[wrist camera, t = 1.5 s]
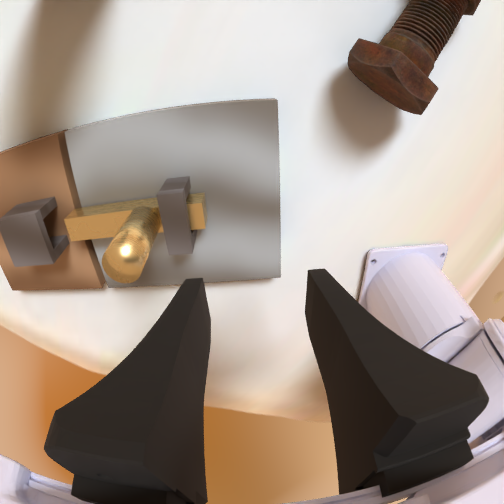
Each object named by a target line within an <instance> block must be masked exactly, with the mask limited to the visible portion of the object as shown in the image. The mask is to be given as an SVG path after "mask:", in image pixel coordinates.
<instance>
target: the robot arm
mask: <svg viewBox="0 0 504 504" xmlns="http://www.w3.org/2000/svg"><path fill="white" fill-rule="evenodd" d="M447 251H448V246H447V245H446V244H445V243H440V244H428V245H416V246H403V247H390V248H378V249H372V250H370V251H369V252H368V254H367V260H366V266H365V271H364V276H363V282H362V287H361V292H360V296H359V301H358V302H357V301H356V300H355V299H354V298H353V297H352V296H351V295H350V294H349V293H348V292H347V291H346V290H345V289H344V288H343V287H342V286H341V285H340V284H339V283H338V282H337V281H336V280H335V279H334V278H333V277H332V276H331V275H330V274H329V273H328V272H327V271H326V270H325V269H314V270H308V277H307V292H306V305H305V315H306V321H307V327H308V332H309V337H310V340H311V343H312V347H313V350H314V353H315V356H316V359H317V363H318V366H319V369H320V372H321V376H322V379H323V382H324V386H325V389H326V393H327V398H328V404H329V410H330V415H331V422H332V428H333V435H334V442H335V451H336V459H337V470H338V481H339V495H336V496H331V497H326V498H321V499H314V500H307V501H300V502H294V503H284V504H388V503H392V502H394V501H398V500H401V499H403V498H406V497H408V498H407V499H406V501H403V502H401V503H398V504H504V323H503V322H502V321H501V320H500V319H491V318H489V319H488V320H487V321H486V322H485V323H484V324H483V323H481V321H480V320H479V319H478V317H477V316H476V314H475V313H474V312H473V311H472V309H471V308H470V306H469V305H468V304H467V302H466V301H465V300H464V298H463V297H462V296H461V294H460V293H459V292H458V290H457V289H456V288H455V287H454V285H453V284H452V283H451V282H450V280H449V279H448V278H447V277H446V275H445V274H444V273H443V272H442V268H443V264H444V261H445V258H446V255H447ZM373 259H375V260H374V261H373V262H371V261H372V260H373ZM210 343H211V319H210V313H209V308H208V303H207V298H206V292H205V287H204V282H203V278H191V279H185V281H184V282H183V283H182V285H181V286H180V288H179V290H178V291H177V293H176V294H175V296H174V297H173V299H172V300H171V302H170V304H169V305H168V306H167V308H166V309H165V311H164V312H163V314H162V315H161V316H160V318H159V319H158V321H157V322H156V323H155V324H154V326H153V327H152V328H151V330H150V331H149V332H148V333H147V335H146V336H145V337H144V338H143V340H142V341H141V342H140V343H139V344H138V345H137V347H136V348H135V349H134V350H133V351H132V352H131V353H130V354H129V355H128V356H127V357H126V358H125V359H124V360H123V361H122V362H121V363H120V364H119V365H118V366H117V367H116V368H114V369H113V370H112V371H111V372H110V373H109V374H108V375H107V376H106V377H104V378H103V379H102V380H101V381H99V382H98V383H97V384H96V385H94V386H93V387H92V388H90V389H89V390H88V391H86V392H85V393H83V394H82V395H80V396H79V397H77V398H76V399H74V400H73V401H71V402H69V403H68V404H66V405H65V406H63V407H62V408H60V409H58V410H56V411H55V413H54V416H53V419H52V422H51V425H50V428H49V432H48V435H47V439H46V442H45V446H44V450H45V452H46V453H47V455H48V456H49V457H50V458H51V459H53V460H54V461H55V462H57V463H58V464H60V465H61V466H62V467H64V468H66V469H67V470H68V471H70V472H71V473H73V474H74V479H73V484H72V485H69V484H66V483H63V482H59V481H56V480H53V479H50V478H47V477H45V476H42V475H39V474H36V473H34V472H31V471H30V470H29V469H28V468H26V467H25V466H23V465H21V464H20V463H18V462H16V461H14V460H12V459H10V458H8V457H5V456H3V455H1V454H0V504H206V503H207V502H208V500H207V489H206V477H205V459H204V426H203V424H204V422H203V421H204V420H203V407H204V393H205V384H206V376H207V368H208V360H209V352H210Z"/></svg>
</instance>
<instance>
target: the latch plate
mask: <svg viewBox="0 0 504 504" xmlns="http://www.w3.org/2000/svg"><path fill="white" fill-rule="evenodd" d="M204 192H205V200H206V208H207V216H208V217H207V223H206V229H196V230H191V229H190V223H189V216H188V210H187V204H186V199H187V196H188V194H194V193H204ZM156 197H157V201H158V206H159V211H160V216H161V221H162V226H163V231H164V232H161V233H158V234H157V237H156V239H155V241H154V244H153V246H152V248H151V251H150V253H149V256H148V258H147V260H146V263H145V265H144V268H143V270H142V273H141V275H140V277H139V278H138V279H137V280H136V281H134V282H132V283H120V282H117V281H115V280H113V279H112V278H110V277H109V276H108V275H107V274H106V272H105V271H104V269H103V266H102V257H103V254H104V253H105V251H106V249H107V248H108V246H109V245H110V243H111V241H112V240H113V238H114V237H109V238H99V239H89V240H80V241H71V239H70V236H69V233H68V230H67V227H66V224H65V221H64V219H65V218H66V217H67V216H68V215H69V214H70V213H71V212H72V211H73V210H74V209H75V208H82V207H88V206H95V205H102V204H109V203H116V202H123V201H131V200H139V199H147V198H156ZM0 265H1V267H2V270H3V272H4V274H5V276H6V278H7V280H8V282H9V284H10V286H11V288H12V290H56V289H89V288H102V287H103V285H104V283H105V281H106V282H107V285H108V287H109V288H115V287H137V286H157V285H176V284H182V283H183V282H184V281H185V279H191V278H203V282H204V283H209V282H225V281H239V280H253V279H267V278H280V277H281V231H280V167H279V130H278V102H277V100H276V99H274V98H273V99H249V100H233V101H221V102H210V103H201V104H192V105H184V106H177V107H170V108H164V109H157V110H151V111H146V112H140V113H135V114H130V115H125V116H120V117H115V118H111V119H106V120H102V121H98V122H94V123H90V124H86V125H82V126H78V127H75V128H72V129H70V130H68V129H67V130H64V131H60V132H57V133H54V134H50V135H47V136H44V137H41V138H38V139H35V140H32V141H29V142H26V143H23V144H21V145H18V146H15V147H12V148H10V149H7V150H5V151H2V152H0Z"/></svg>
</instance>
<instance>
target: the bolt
mask: <svg viewBox="0 0 504 504" xmlns="http://www.w3.org/2000/svg"><path fill="white" fill-rule="evenodd" d="M480 1H481V0H411V1H410V2H409V4H408V5H407V7H406V8H405V10H404V11H403V13H402V14H401V15H400V17H399V18H398V20H397V21H396V23H395V24H394V26H393V27H392V29H391V30H390V31H389V33H387V34H386V35H385V36H384V37H383V39H382V40H381V42H380V43H379V44H377V43H374V42H370V41H367V40H363V39H358V40H357V42H356V43H355V45H354V46H353V47H352V49H351V50H350V52H349V57H348V67H349V68H350V70H351V71H352V72H353V73H354V74H355V76H356V77H357V78H358V79H359V80H360V81H362V82H363V83H364V84H365V85H367V86H368V87H369V88H370V89H371V90H373V91H374V92H375V93H377V94H378V95H380V96H381V97H382V98H384V99H385V100H387V101H389V102H390V103H392V104H393V105H395V106H396V107H398V108H399V109H402V110H404V111H407V112H410V113H413V114H419V115H421V114H422V113H423V112H424V110H425V109H426V108H427V106H428V104H429V103H430V101H431V100H432V98H433V97H434V95H435V93H436V92H437V90H438V87H437V86H436V85H435V84H434V83H433V82H432V81H431V80H430V79H429V78H428V76H429V74H430V73H431V71H432V69H433V68H434V63H435V61H436V60H437V58H438V56H439V54H440V53H441V51H442V50H443V48H444V46H445V44H447V42H448V40H449V38H450V37H451V34H452V33H453V31H454V29H455V28H456V26H457V24H458V22H459V21H460V19H461V17H462V16H463V15H473V14H474V12H475V11H476V9H477V7H478V5H479V3H480Z"/></svg>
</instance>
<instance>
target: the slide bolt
mask: <svg viewBox="0 0 504 504" xmlns="http://www.w3.org/2000/svg"><path fill="white" fill-rule="evenodd" d="M186 204H187V210H188V216H189V223H190V229H191V230H196V229H206V223H207V217H208V216H207V208H206V200H205V192H204V193H194V194H188V196H187V199H186ZM64 221H65V224H66V227H67V230H68V233H69V236H70V239H71V241H80V240H89V239H99V238H109V237H114V238H113V240H112V241H111V243H110V245H109V246H108V248H107V249H106V251H105V253H104V254H103V257H102V266H103V269H104V271H105V272H106V274H107V275H108V276H109V277H110V278H112V279H113V280H115V281H117V282H120V283H132V282H134V281H136V280H137V279H138V278H139V277H140V275H141V273H142V270H143V268H144V265H145V263H146V260H147V258H148V256H149V253H150V251H151V248H152V246H153V244H154V241H155V239H156V237H157V234H158V233H161V232H164V231H163V226H162V221H161V216H160V211H159V206H158V201H157V197H156V198H147V199H139V200H131V201H123V202H116V203H109V204H102V205H95V206H88V207H82V208H75V209H74V210H73V211H72V212H71V213H70V214H69V215H68V216H67V217H66V218H65V219H64Z"/></svg>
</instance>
